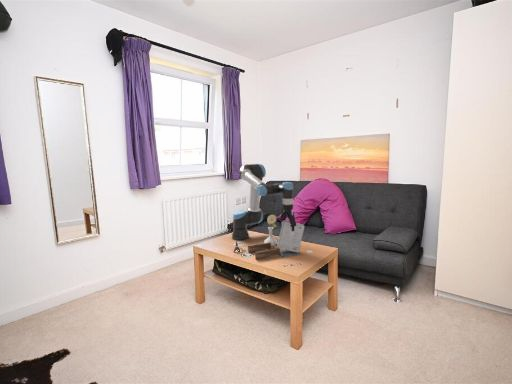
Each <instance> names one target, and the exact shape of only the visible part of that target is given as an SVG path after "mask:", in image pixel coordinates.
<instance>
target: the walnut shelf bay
mask: <svg viewBox="0 0 512 384" xmlns="http://www.w3.org/2000/svg"><path fill="white" fill-rule="evenodd" d="M280 250H281V248H278V247H277V245H276V244H275V245H274V244H272V243H271V242H270V243H264V242H263V243H258V244H257V243H256V244H250V245H247V253H254V256H255V260H256V261H257V260H262V259H268V258H274V257H279V256H281V255H280Z"/></svg>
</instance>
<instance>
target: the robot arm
mask: <svg viewBox="0 0 512 384" xmlns="http://www.w3.org/2000/svg"><path fill="white" fill-rule="evenodd" d="M238 171H239V172H238V175H239V178H240V179H241V180H243V181H245V182H247V183H248V184H249V185H250V187H249V188H250V191H249V192H250V193H249V207H248V208H247V211H246V210H245V209H244V210H237V211H234V213H233V214H232V221H233V223H232V224H233V230H232V233H231V239H233V240H235V241H236V235H237V241H242V240H243V241H245V240H248V239H250V234H249V231H248V228H247V227H248V225H249V226H251V225H257V224H260V223H262V221H263V220H264V219H263V218H264V215H263V211H262V209H261V208H260V200H261V198H260V197H265V196H275V195H282V200H281V201H282V209H281V213H280V221H281V224H282V223H283V220H285V221H286V219H288V221H290V224H291V226H290V235H291V236H292V235H294V226H296V223H297V222H296V218H295V212H294V211H292V210H294V183H293V182H289V181H285V182H282V183H279V182H278V183H274V184H266V183H265V182H264V181H263V178H265V177H266V174H267V173H266V172H267V171H266V168H265V166H264V165H263V164H262V163H251V164H244V165H242V166H241V167H240V169H239V170H238Z"/></svg>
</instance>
